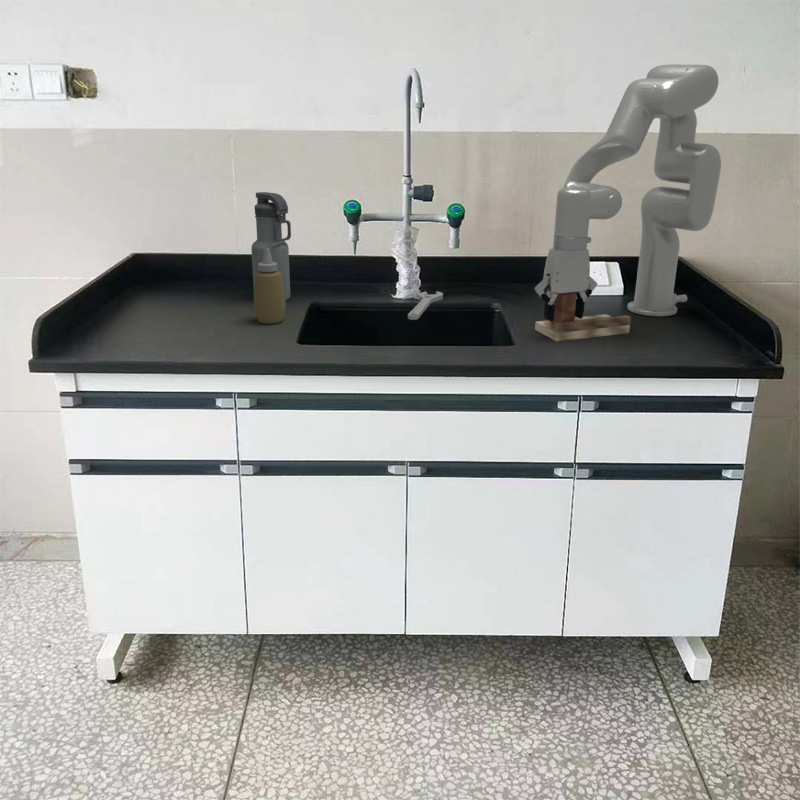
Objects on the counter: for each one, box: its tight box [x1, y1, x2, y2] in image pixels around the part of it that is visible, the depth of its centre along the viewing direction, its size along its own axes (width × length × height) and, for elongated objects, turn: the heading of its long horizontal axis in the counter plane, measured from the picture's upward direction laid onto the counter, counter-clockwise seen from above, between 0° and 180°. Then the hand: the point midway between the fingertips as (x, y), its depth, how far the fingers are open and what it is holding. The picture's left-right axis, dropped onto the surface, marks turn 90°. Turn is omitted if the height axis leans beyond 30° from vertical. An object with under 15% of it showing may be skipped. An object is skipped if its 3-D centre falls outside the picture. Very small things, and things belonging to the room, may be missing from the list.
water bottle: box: [250, 191, 292, 302], centre depth 217 cm, size 10×10×28 cm
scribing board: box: [534, 314, 632, 342], centre depth 196 cm, size 20×10×4 cm, turn 111°
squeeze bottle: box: [252, 248, 287, 325], centre depth 199 cm, size 8×8×18 cm
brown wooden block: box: [552, 293, 577, 325], centre depth 193 cm, size 4×6×8 cm, turn 21°
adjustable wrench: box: [407, 291, 444, 321], centre depth 216 cm, size 25×6×2 cm, turn 161°
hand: (563, 318), depth 193 cm, fingers open, 7 cm apart
